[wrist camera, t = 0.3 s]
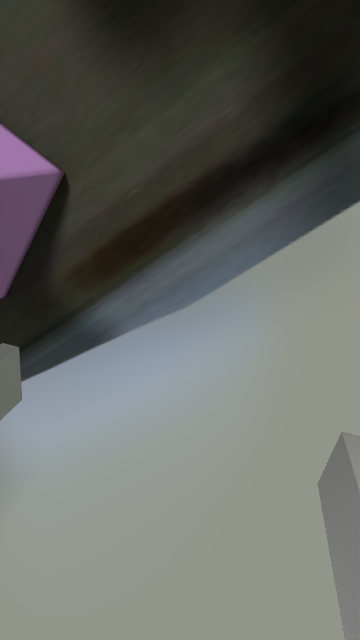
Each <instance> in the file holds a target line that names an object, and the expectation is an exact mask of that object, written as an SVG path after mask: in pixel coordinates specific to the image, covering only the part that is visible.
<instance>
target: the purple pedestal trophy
mask: <svg viewBox="0 0 360 640" xmlns="http://www.w3.org/2000/svg"><path fill="white" fill-rule="evenodd" d="M64 173H65V172H64V171H63V170H62V169H60V168H59V167H58V166H56V165H55V164H54V163H53V162H51V161H50V160H49V159H47V158H46V157H45V156H43V155H42V154H41V153H40V152H38V151H37V150H36V149H34V148H33V147H32V146H30V145H29V144H28V143H27V142H25V141H24V140H23V139H21V138H20V137H19V136H18V135H16V134H15V133H14V132H12V131H11V130H10V129H8V128H7V127H6V126H5V125H3V124H2V123H1V122H0V299H1V298H3V297H5V296H6V295H7V293H8V291H9V289H10V287H11V285H12V283H13V281H14V278H15V276H16V274H17V272H18V270H19V268H20V266H21V264H22V262H23V259H24V257H25V255H26V253H27V251H28V249H29V247H30V245H31V243H32V240H33V238H34V236H35V234H36V232H37V230H38V228H39V226H40V224H41V222H42V219H43V217H44V215H45V213H46V211H47V209H48V207H49V205H50V203H51V200H52V198H53V196H54V194H55V192H56V190H57V188H58V186H59V184H60V182H61V179H62V177H63V175H64Z"/></svg>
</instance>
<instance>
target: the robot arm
mask: <svg viewBox="0 0 360 640" xmlns="http://www.w3.org/2000/svg"><path fill="white" fill-rule="evenodd" d="M21 400H22V391H21V373H20V356H19V347H16V346H13V345H9V344H5V343H2V344H0V420H1V419H2V418H3V417H4V416H5V415H6V414H7V413H8V412H10V411H11V410H12V408H14V407H15V406H16V405H17V404H18V403H19V402H20V401H21ZM318 488H319V493H320V499H321V504H322V510H323V516H324V521H325V528H326V533H327V539H328V544H329V550H330V556H331V562H332V567H333V573H334V579H335V585H336V590H337V596H338V602H339V607H340V613H341V619H342V624H343V630H344V636H345V640H360V437H359V436H356V435H352V434H348V433H344V432H342V433H341V435H340V437H339V439H338V441H337V444H336V446H335V448H334V450H333V452H332V454H331V457H330V459H329V461H328V463H327V465H326V467H325V470H324V471H323V474H322V476H321V478H320V480H319V482H318Z"/></svg>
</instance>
